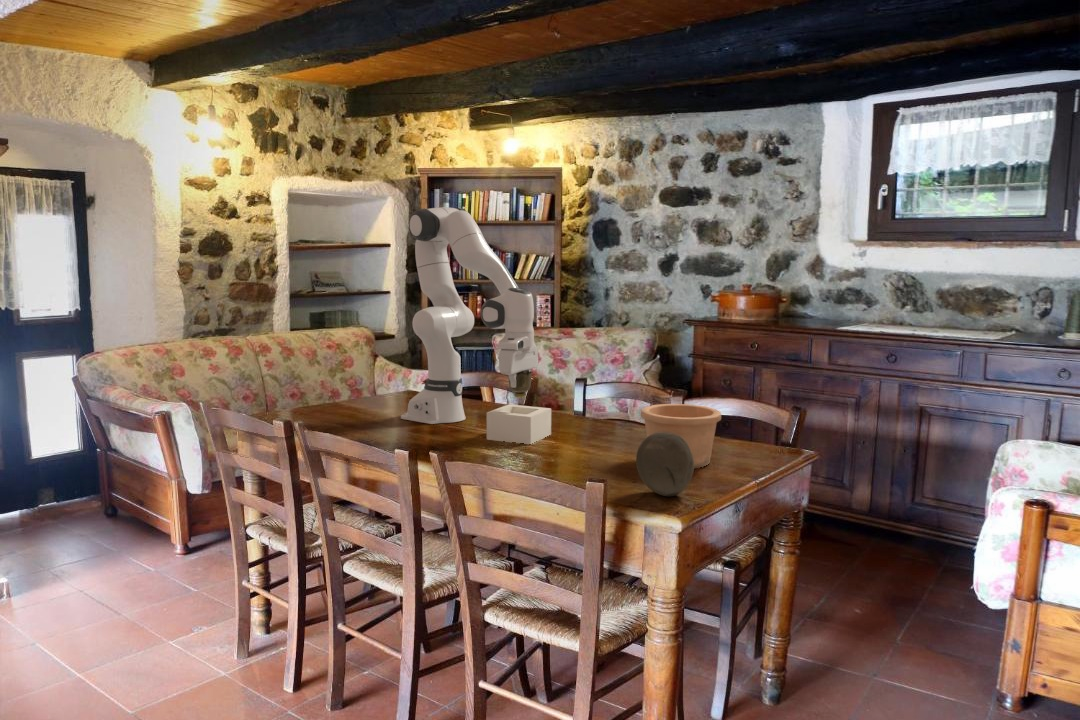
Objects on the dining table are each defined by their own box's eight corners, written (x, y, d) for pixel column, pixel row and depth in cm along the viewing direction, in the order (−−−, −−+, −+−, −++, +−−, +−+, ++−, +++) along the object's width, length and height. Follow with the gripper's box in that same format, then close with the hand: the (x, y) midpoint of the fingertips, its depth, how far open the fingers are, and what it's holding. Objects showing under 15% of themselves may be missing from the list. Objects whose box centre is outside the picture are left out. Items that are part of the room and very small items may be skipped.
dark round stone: (702, 492, 200) (705, 431, 198) (678, 507, 188) (679, 442, 186) (650, 482, 208) (652, 424, 206) (623, 496, 196) (624, 434, 194)
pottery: (665, 448, 244) (666, 400, 242) (733, 460, 230) (735, 410, 228) (624, 462, 227) (625, 411, 225) (695, 476, 213) (697, 422, 212)
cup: (503, 398, 254) (503, 372, 253) (515, 394, 260) (515, 369, 259) (524, 399, 250) (524, 373, 249) (536, 396, 257) (536, 370, 256)
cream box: (486, 439, 253) (486, 412, 252) (508, 430, 267) (508, 404, 266) (530, 444, 247) (530, 416, 246) (551, 434, 261) (551, 408, 260)
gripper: (525, 337, 264) (525, 380, 266) (495, 343, 245) (495, 389, 247) (543, 338, 261) (543, 381, 263) (514, 344, 243) (514, 391, 244)
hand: (519, 385), depth 255 cm, fingers closed on cup, 6 cm apart
